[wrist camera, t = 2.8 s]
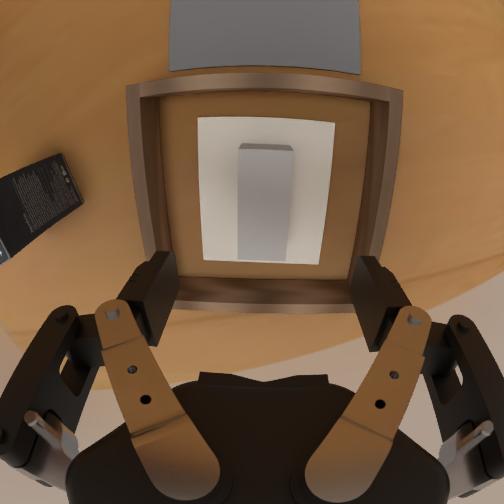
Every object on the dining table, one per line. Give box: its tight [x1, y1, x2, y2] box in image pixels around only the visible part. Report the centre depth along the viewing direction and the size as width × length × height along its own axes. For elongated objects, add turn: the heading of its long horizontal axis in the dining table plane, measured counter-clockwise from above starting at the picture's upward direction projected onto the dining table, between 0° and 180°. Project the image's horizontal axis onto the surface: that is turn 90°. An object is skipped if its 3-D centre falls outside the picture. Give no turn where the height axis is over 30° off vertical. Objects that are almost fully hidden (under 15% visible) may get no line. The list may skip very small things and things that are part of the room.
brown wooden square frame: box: [126, 72, 403, 314], centre depth 20 cm, size 18×18×4 cm
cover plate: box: [198, 117, 335, 264], centre depth 20 cm, size 10×12×4 cm
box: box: [0, 153, 83, 265], centre depth 17 cm, size 8×6×11 cm
